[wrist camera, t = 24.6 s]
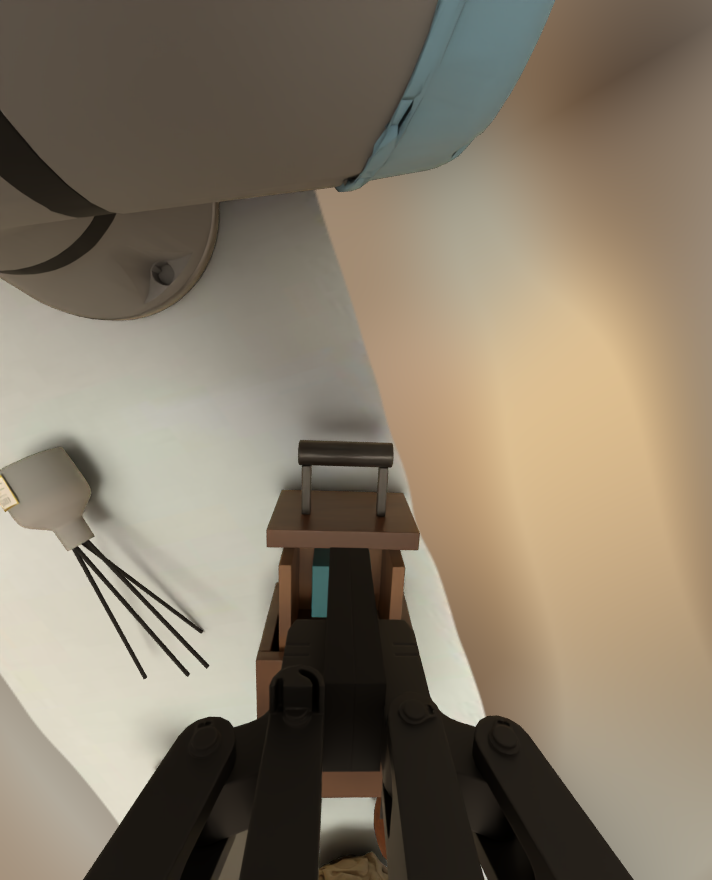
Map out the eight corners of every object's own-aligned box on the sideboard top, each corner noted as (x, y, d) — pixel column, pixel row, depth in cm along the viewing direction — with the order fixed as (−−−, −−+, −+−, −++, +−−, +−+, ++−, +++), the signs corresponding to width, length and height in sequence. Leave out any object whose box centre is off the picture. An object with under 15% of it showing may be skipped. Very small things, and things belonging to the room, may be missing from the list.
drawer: (281, 425, 30) (265, 450, 24) (408, 429, 31) (426, 455, 24) (281, 608, 34) (267, 673, 27) (394, 609, 34) (407, 674, 28)
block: (314, 584, 32) (315, 537, 31) (365, 584, 33) (367, 538, 32) (311, 617, 28) (312, 566, 27) (368, 618, 29) (371, 567, 28)
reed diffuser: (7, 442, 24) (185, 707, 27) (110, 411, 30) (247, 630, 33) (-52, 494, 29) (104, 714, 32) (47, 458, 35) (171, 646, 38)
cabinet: (276, 582, 34) (255, 660, 26) (401, 584, 35) (421, 661, 27) (276, 695, 37) (258, 798, 29) (392, 695, 38) (407, 797, 29)
